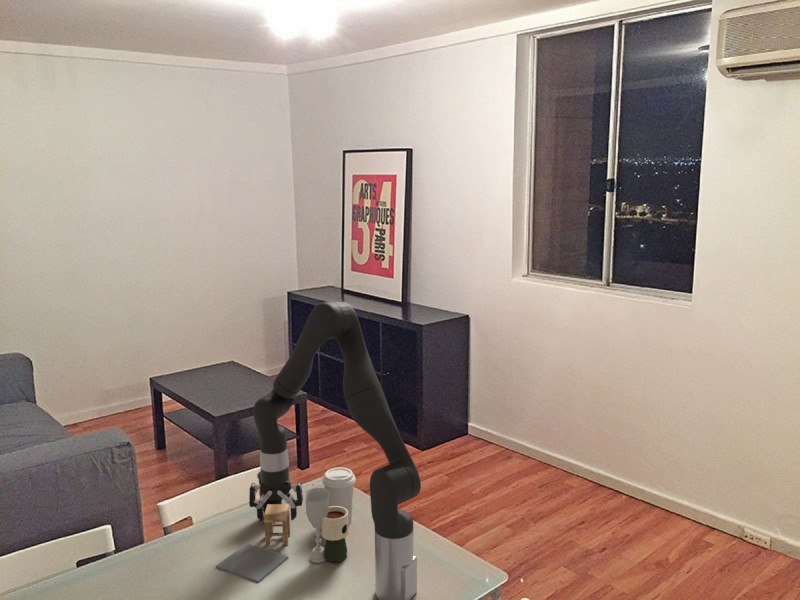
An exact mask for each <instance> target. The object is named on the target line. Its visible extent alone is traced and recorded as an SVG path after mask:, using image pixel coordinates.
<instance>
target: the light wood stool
mask: <svg viewBox="0 0 800 600" xmlns="http://www.w3.org/2000/svg"><path fill="white" fill-rule="evenodd" d="M263 516H264V517H263V522H264V543H265V547H268V546H271V541H272V540H271V537H280V536H281V537H282V545H283V546H289V545H288V544H289V536H291V522H290V521H291V513H290V505H289V504H288V503H282V504H267V507H266V511H265V514H264V513H263ZM274 527H275V528H276V527H277V528H279V527H281V530H282V532H274Z"/></svg>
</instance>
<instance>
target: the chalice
mask: <svg viewBox="0 0 800 600" xmlns="http://www.w3.org/2000/svg"><path fill="white" fill-rule="evenodd" d="M302 495H303V499H304V500H305V513H306V517H307V519H308V521H309V523H310V524H311V526H312V528H314V529H315V530H316V531H315V535H314V536H315V537H316V539H315V540H314V542H315V543H316V546H314V547H313V548H312V549H311V552H310V556H309V560H310V562H312V563H323V562H326V561H328V560H327V559H325V558H324V546H322V545H321V542H322V538H321V536H322V532H321V525H322V519H323V517H326V518H327V515H328V511H329V506H328V497H329V495H330V492H329V491H328V490H327V489H325V487H324V488H323V487H316V488H315V487H314V488H311V489H308V490H306V491H305V492H304V493H303V494H302Z"/></svg>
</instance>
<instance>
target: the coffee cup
mask: <svg viewBox="0 0 800 600" xmlns="http://www.w3.org/2000/svg"><path fill="white" fill-rule="evenodd" d="M356 480H357V478H356V476H355V474H354V473H353V470H352V469H349V468H347V467H331V468H329V469H328V470H326V471H325V473H324V475H323V476H322V480H321V482H322V484H323V485H324V489H327V490H328V491H329V492H330V495H329V497H328V506H329V507H331V506H341V507H344V508H346V509H347V511H348V526H349V525H350V524H351V523H352V515H353V503H354V502H353V500H354V486H355V482H356Z"/></svg>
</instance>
